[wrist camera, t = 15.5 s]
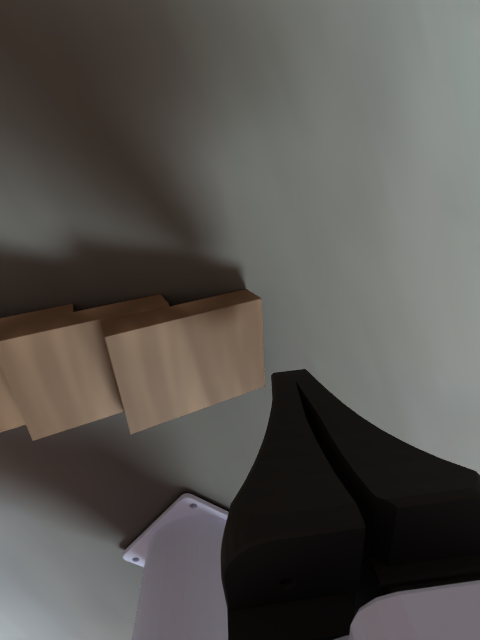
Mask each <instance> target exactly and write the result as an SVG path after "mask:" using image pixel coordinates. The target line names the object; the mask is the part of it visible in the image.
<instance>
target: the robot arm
mask: <svg viewBox="0 0 480 640" xmlns="http://www.w3.org/2000/svg"><path fill="white" fill-rule="evenodd" d="M271 381H272V397H273V400H272V408H271V413H270V417H269V422H268V426H267V430H266V433H265V436H264V439H263V442H262V445H261V448H260V450H259V453H258V455H257V458H256V460H255V462H254V464H253V466H252V468H251V470H250V472H249V474H248V476H247V478H246V480H245V482H244V484H243V485H242V487H241V489H240V490H239V492H238V493H237V495H236V497H235V498H234V500H233V501H232V503H231V506H230V510H229V512H228V511H226V510H224V509H222V508H219V507H217V506H215V505H213V504H211V503H209V502H207V501H205V500H203V499H201V498H199V497H196V496H194V495H192V494H190V493H185V494H183V495H181V496H180V497H179V498H178V499H177V500H176V501H175V502H174V503H173V504H172V505H171V506H170V507H169V508H168V509H167V510H166V511H165V512H164V513H163V514H162V515H161V516H160V517H158V518H157V519H156V520H155V521H154V522H153V523H152V524H151V525H150V526H149V527H148V528H147V529H146V530H145V531H144V532H143V533H142V534H141V535H140V536H139V537H138V538H137V539H136V540H135V541H134V542H133V543H132V544H130V545H129V546H128V547H127V548H126V549H125V550H124V553H123V558H124V560H126V561H129V562H132V563H134V564H137V565H140V566H142V567H144V570H143V576H142V582H141V588H140V594H139V600H138V606H137V612H136V617H135V623H134V629H133V635H132V640H480V475H479V474H478V473H477V472H476V471H474V470H471V469H468V468H465V467H463V466H460V465H457V464H454V463H452V462H449V461H446V460H443V459H441V458H438V457H436V456H434V455H431V454H429V453H427V452H424V451H422V450H420V449H418V448H415V447H413V446H411V445H409V444H407V443H405V442H403V441H401V440H399V439H397V438H396V437H394V436H392V435H390V434H388V433H386V432H385V431H383V430H381V429H379V428H378V427H376V426H375V425H373V424H371V423H370V422H368V421H367V420H365V419H364V418H362V417H361V416H359V415H358V414H356V413H355V412H354V411H352V410H351V409H350V408H348V407H347V406H346V405H345V404H343V403H342V402H341V401H340V400H339V399H337V398H336V397H335V396H334V395H333V394H332V393H330V392H329V391H328V390H327V389H326V388H325V387H324V386H323V385H322V384H321V383H319V382H318V381H317V380H316V379H315V378H314V377H313V376H312V375H311V374H310V373H309V372H308V371H307V370H306V369H302V370H294V371H285V372H277V373H273V374H272V375H271Z"/></svg>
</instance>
